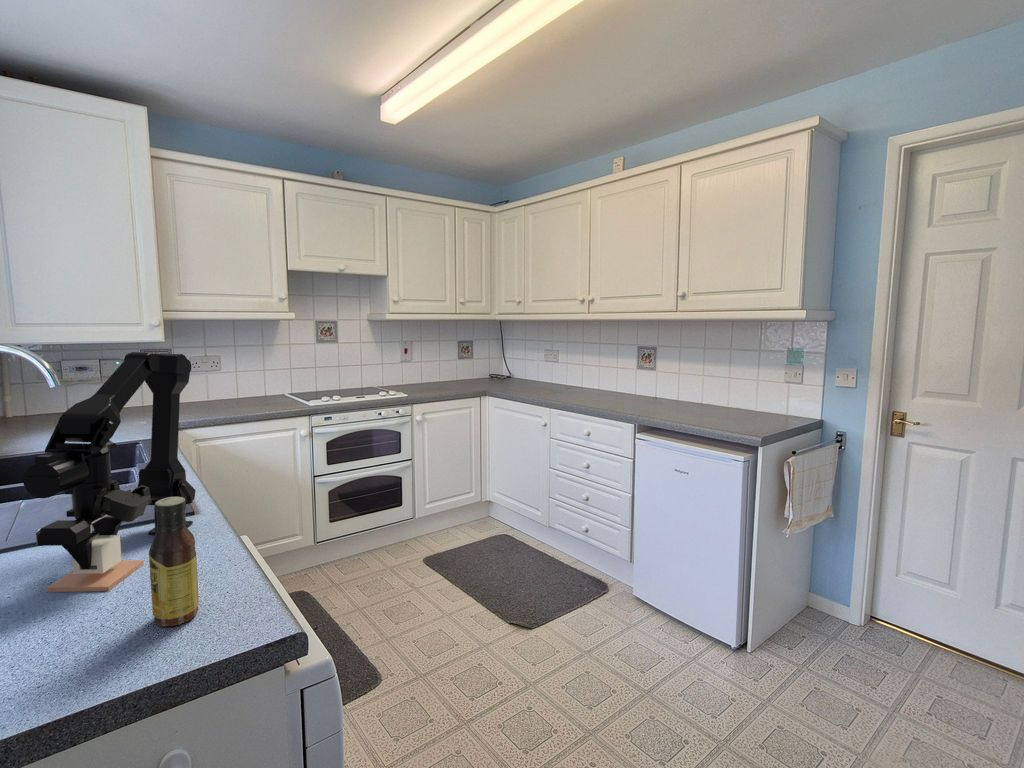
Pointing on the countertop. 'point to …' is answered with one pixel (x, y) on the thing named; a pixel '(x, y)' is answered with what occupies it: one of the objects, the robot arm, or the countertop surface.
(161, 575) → the sauce bottle
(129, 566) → the terracotta tile
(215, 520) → the countertop surface
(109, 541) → the cream letter cube
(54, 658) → the countertop surface
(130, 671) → the countertop surface
